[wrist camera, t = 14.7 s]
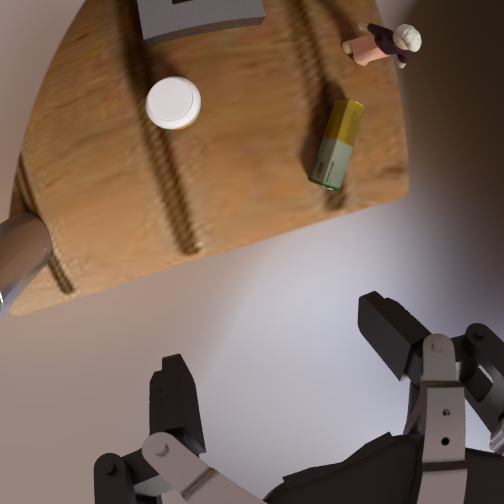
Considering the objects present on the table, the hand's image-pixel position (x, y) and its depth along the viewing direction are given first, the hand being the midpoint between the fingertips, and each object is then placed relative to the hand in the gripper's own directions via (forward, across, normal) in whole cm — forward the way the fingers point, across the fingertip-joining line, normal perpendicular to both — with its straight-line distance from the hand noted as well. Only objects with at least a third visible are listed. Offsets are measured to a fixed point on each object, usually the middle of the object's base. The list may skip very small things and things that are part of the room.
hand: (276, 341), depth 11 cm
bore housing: (+26, -4, -28) cm, 39 cm away
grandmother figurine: (+25, -24, -16) cm, 38 cm away
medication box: (+26, -17, -4) cm, 31 cm away
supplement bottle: (+27, +1, -12) cm, 29 cm away
